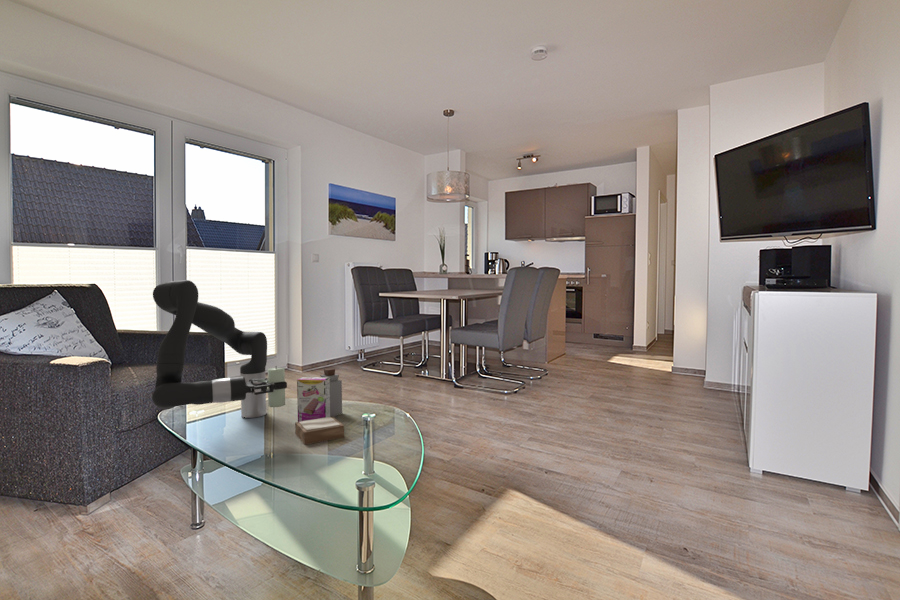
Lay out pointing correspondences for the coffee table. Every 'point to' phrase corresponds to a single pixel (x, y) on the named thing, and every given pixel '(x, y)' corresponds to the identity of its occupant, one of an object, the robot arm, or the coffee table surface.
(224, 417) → the coffee table surface
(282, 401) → the pillar candle
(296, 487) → the coffee table surface
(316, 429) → the walnut plinth
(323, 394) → the candy bar box
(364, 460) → the coffee table surface
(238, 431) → the coffee table surface
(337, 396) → the perfume bottle
